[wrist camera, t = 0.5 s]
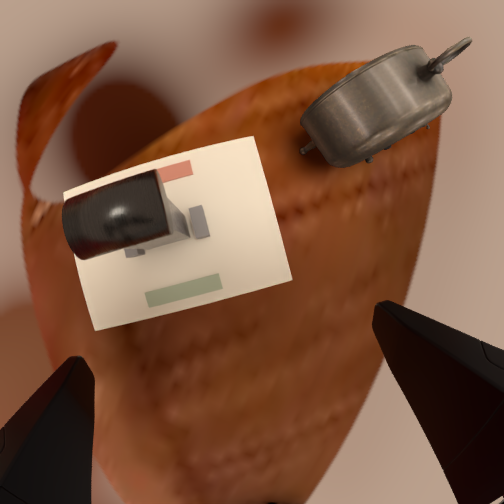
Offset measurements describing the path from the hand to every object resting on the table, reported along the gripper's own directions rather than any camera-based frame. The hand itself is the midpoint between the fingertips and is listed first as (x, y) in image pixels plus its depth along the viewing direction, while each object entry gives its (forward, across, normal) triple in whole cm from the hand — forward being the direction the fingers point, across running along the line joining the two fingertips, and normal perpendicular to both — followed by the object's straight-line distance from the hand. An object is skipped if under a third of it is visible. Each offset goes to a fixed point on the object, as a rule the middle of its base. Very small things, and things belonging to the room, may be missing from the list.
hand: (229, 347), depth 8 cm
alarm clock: (+18, -13, -3) cm, 22 cm away
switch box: (+16, +3, +3) cm, 16 cm away
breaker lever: (+12, +3, +1) cm, 12 cm away
